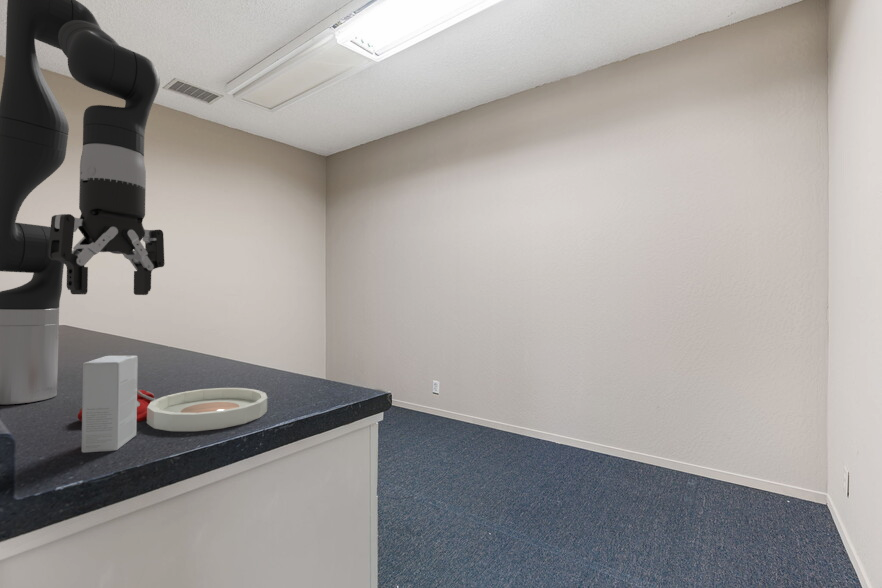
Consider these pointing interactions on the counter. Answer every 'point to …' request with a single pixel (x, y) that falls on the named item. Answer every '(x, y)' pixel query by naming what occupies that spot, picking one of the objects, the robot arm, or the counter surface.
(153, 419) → the round dish
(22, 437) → the counter surface
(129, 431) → the skincare box
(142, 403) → the tracker holder
